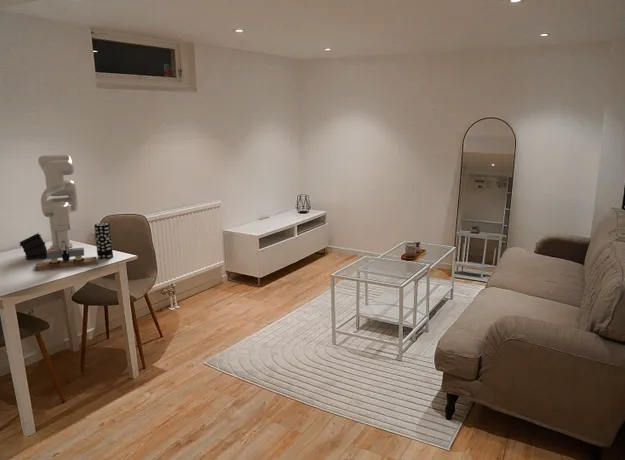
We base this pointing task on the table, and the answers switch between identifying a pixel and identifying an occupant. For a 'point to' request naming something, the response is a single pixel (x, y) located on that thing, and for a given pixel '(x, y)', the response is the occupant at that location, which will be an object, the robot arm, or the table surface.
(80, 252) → the grey control box
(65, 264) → the rail
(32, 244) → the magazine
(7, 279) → the table surface
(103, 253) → the spotted tube
